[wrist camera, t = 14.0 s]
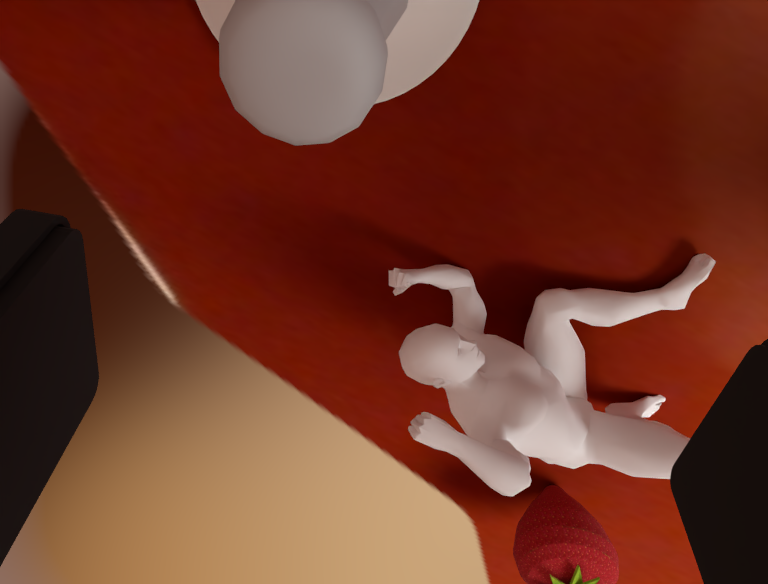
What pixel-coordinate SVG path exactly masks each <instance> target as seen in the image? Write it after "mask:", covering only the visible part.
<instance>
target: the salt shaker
mask: <svg viewBox="0 0 768 584" xmlns="http://www.w3.org/2000/svg"><path fill="white" fill-rule="evenodd" d="M407 4H408V0H235V2H234V4H233V6H232V8H231V10H230V12H229V14H228V16H227V18H226V20H225V21H224V23H223V25H222V27H221V29H220V36H219V60H220V77H221V80H222V82H223V84H224V86H225V88H226V91H227V93H228V95H229V97H230V99H231V102H232V104H233V106H234V108H235V110H236V111H237V112H239V113H240V114H241V115H242V116H243V117H244V118H245V119H246V120H248V121H249V122H250V123H251V124H252V125H253V126H254V127H256V128H257V129H258V130H259V131H260V132H261V133H262V134H265V135H268V136H271V137H273V138H276V139H279V140H281V141H284V142H287V143H290V144H292V145H295V146H297V145H309V144H322V143H330V142H332V141H334V140H336V139H337V138H339V137H341V136H343V135H345V134H347V133H348V132H350V131H352V130H354V129H356V128H358V127H359V126H360V124H361V123H362V121H363V120H364V118H365V117H366V115H367V114H368V112H369V111H370V109H371V108H372V106H373V105H374V103H375V102H376V100H377V99H378V97H379V95H380V94H381V92H382V90H383V83H384V77H385V70H386V63H387V57H388V49H387V44H386V39H387V38H388V36H389V35H390V33H391V32H392V30H393V29H394V27H395V26H396V24H397V23H398V21H399V19H400V18H401V16H402V15H403V13H404V12H405V10H406V9H407Z"/></svg>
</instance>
